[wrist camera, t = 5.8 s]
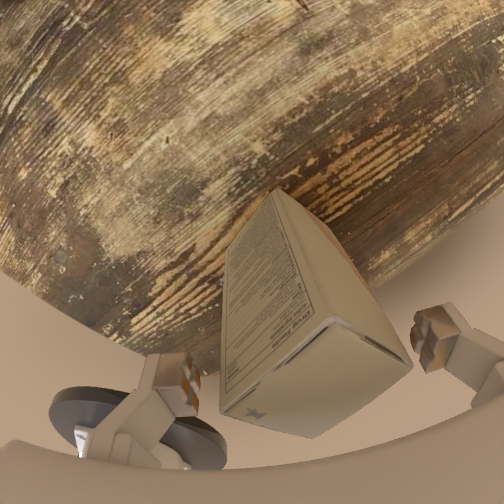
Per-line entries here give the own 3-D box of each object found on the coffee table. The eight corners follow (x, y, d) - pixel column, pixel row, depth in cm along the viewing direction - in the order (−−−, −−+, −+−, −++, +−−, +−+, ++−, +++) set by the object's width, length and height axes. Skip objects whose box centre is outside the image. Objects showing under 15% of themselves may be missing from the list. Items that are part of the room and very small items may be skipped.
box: (277, 284, 19) (306, 445, 10) (222, 250, 18) (210, 418, 8) (333, 224, 18) (420, 370, 8) (278, 181, 16) (336, 318, 6)
